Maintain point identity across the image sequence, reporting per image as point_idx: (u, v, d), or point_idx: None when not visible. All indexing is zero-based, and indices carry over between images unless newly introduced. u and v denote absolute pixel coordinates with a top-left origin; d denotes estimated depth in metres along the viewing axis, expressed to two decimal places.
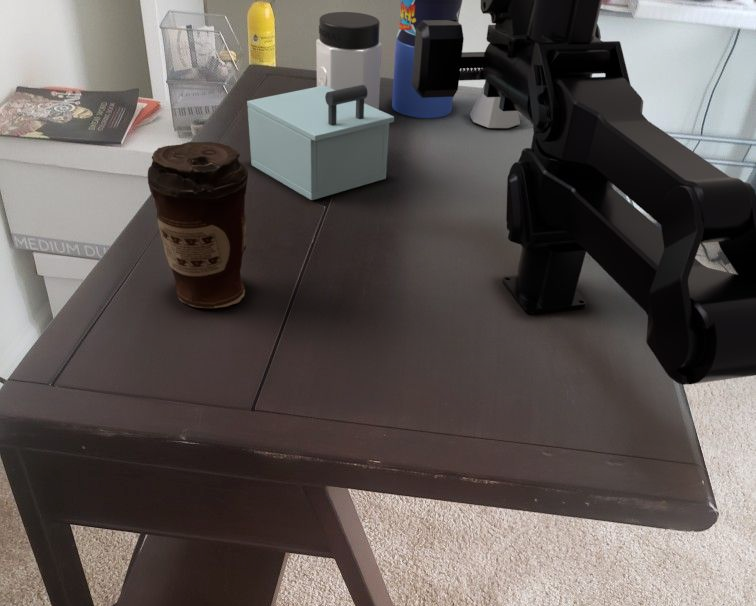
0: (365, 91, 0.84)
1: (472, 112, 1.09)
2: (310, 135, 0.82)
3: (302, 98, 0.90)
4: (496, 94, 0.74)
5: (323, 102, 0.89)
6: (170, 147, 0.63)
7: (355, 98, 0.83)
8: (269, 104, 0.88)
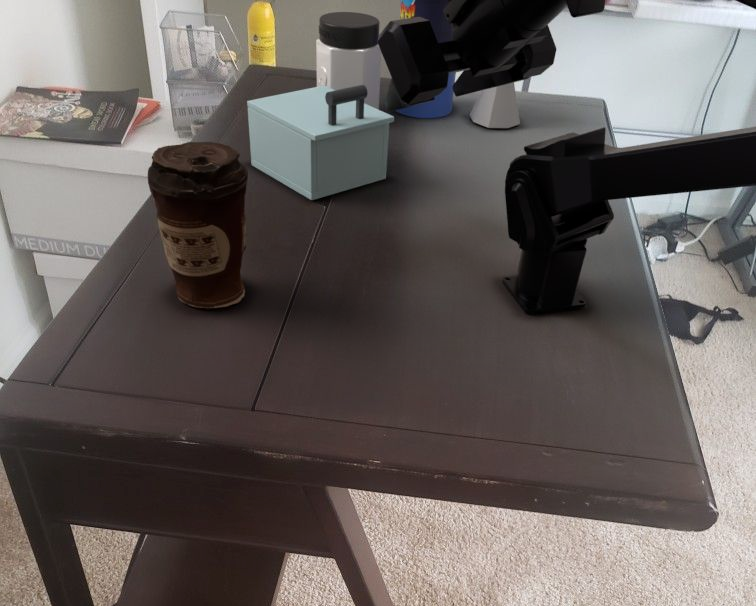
0: (365, 91, 0.84)
1: (472, 112, 1.09)
2: (310, 135, 0.82)
3: (302, 98, 0.90)
4: (486, 66, 0.66)
5: (323, 102, 0.89)
6: (170, 147, 0.63)
7: (355, 98, 0.83)
8: (269, 104, 0.88)
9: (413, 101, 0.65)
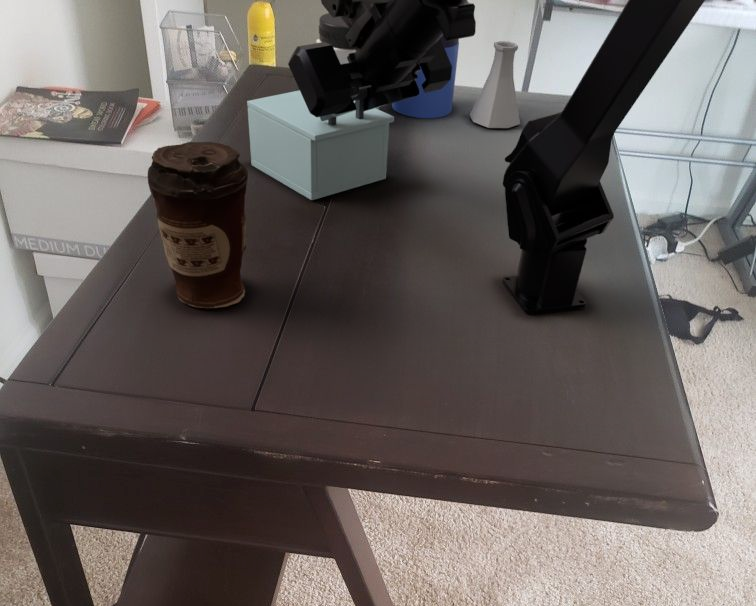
0: (365, 91, 0.84)
1: (472, 112, 1.09)
2: (310, 135, 0.82)
3: (302, 98, 0.90)
4: (385, 83, 0.76)
5: None
6: (170, 147, 0.63)
7: (355, 98, 0.83)
8: (269, 104, 0.88)
9: (321, 114, 0.75)
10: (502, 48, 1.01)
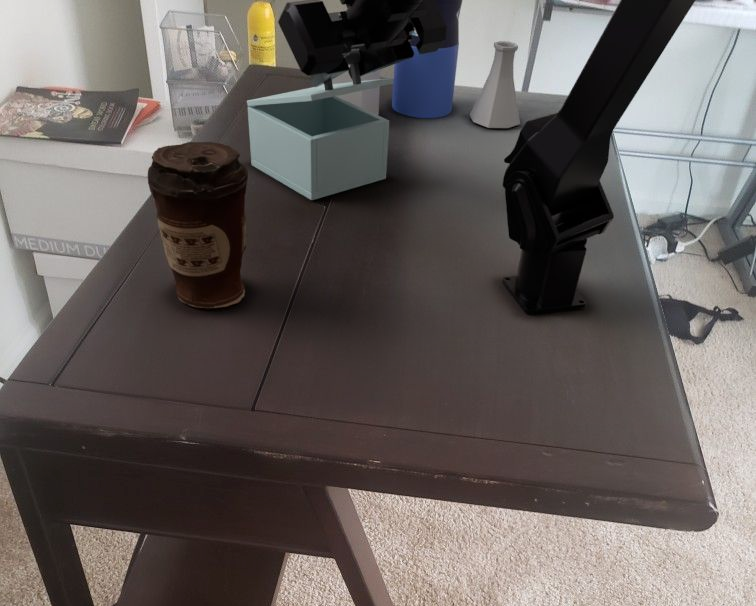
0: (358, 53, 0.82)
1: (472, 112, 1.09)
2: (306, 97, 0.79)
3: None
4: (377, 40, 0.74)
5: None
6: (170, 147, 0.63)
7: (348, 59, 0.81)
8: (268, 97, 0.87)
9: (313, 72, 0.73)
10: (502, 48, 1.01)
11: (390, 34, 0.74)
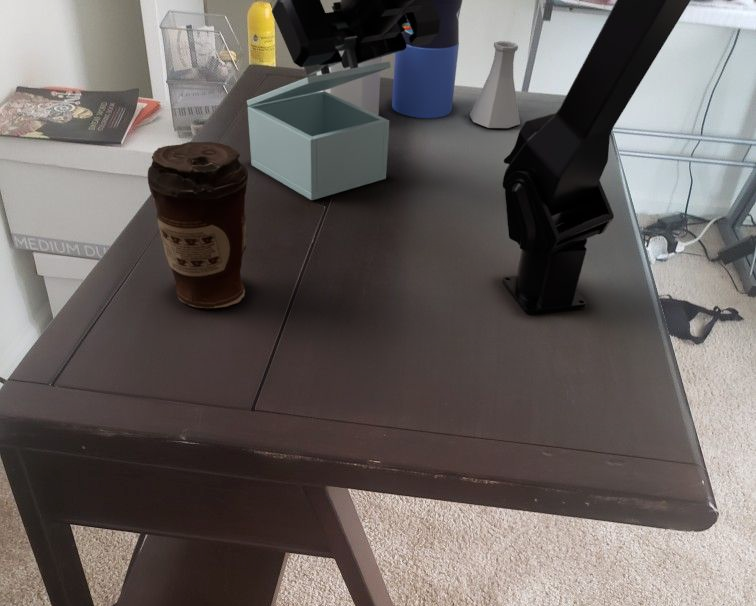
0: (353, 38, 0.81)
1: (472, 112, 1.09)
2: (303, 81, 0.79)
3: None
4: (370, 33, 0.74)
5: None
6: (170, 147, 0.63)
7: None
8: None
9: (305, 64, 0.73)
10: (502, 48, 1.01)
11: (383, 28, 0.74)
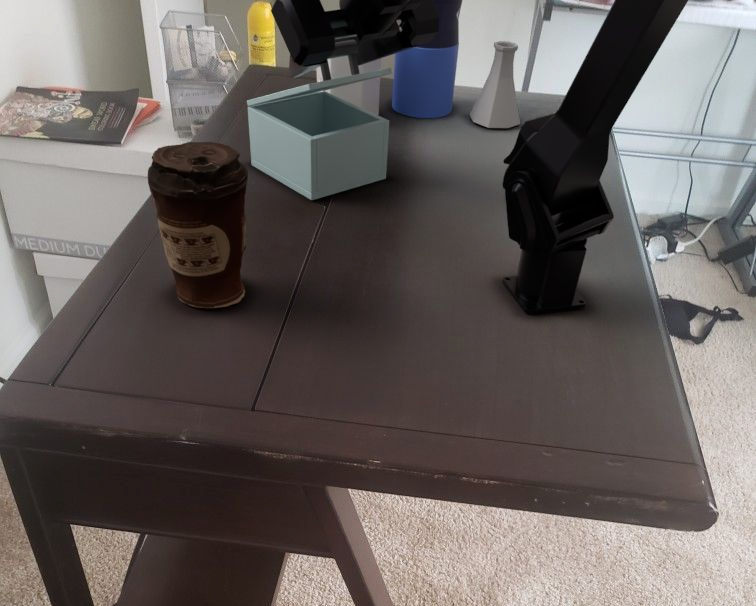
0: (355, 43, 0.82)
1: (472, 112, 1.09)
2: (304, 87, 0.79)
3: None
4: (370, 31, 0.74)
5: None
6: (170, 147, 0.63)
7: (345, 50, 0.81)
8: None
9: (305, 63, 0.73)
10: (502, 48, 1.01)
11: (383, 26, 0.74)
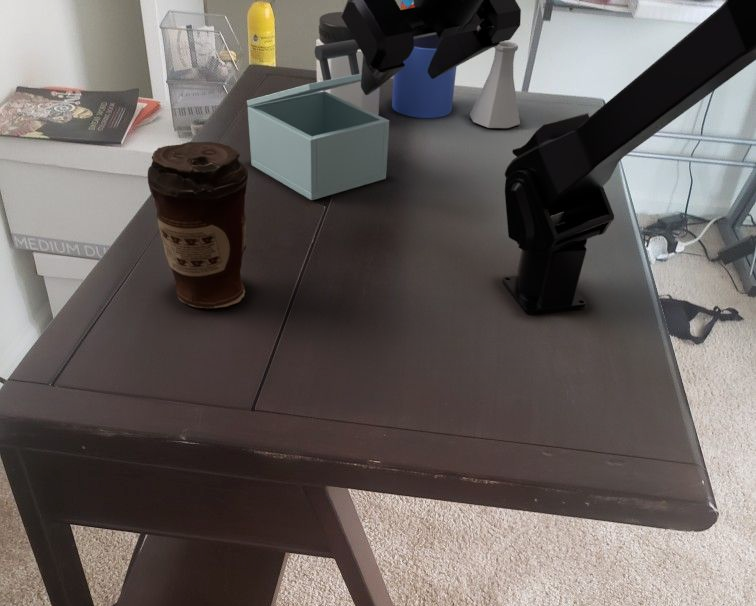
0: (355, 43, 0.82)
1: (472, 112, 1.09)
2: (304, 87, 0.79)
3: None
4: (450, 25, 0.67)
5: None
6: (170, 147, 0.63)
7: (345, 50, 0.81)
8: None
9: (382, 65, 0.67)
10: (502, 48, 1.01)
11: (464, 17, 0.67)
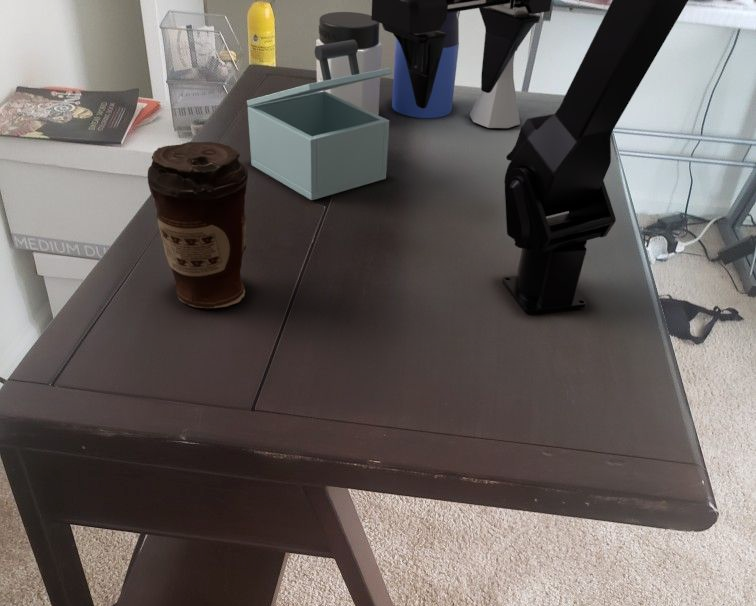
0: (355, 43, 0.82)
1: (472, 112, 1.09)
2: (304, 87, 0.79)
3: None
4: None
5: None
6: (170, 147, 0.63)
7: (345, 50, 0.81)
8: None
9: (421, 28, 0.64)
10: None
11: None
